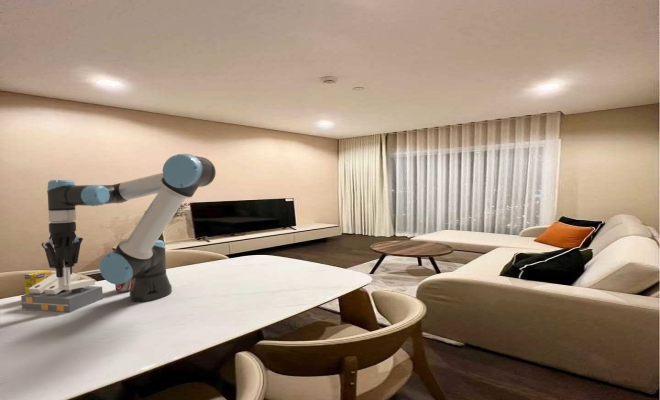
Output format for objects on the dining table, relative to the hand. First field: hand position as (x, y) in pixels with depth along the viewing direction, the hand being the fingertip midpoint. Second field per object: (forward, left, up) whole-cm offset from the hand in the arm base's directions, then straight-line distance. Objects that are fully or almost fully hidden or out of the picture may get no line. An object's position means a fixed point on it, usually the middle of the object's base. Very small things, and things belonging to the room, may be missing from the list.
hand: (64, 284), depth 112 cm
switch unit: (+7, -5, -9) cm, 12 cm away
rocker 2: (+7, -5, -1) cm, 8 cm away
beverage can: (-5, -22, -10) cm, 24 cm away
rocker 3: (0, -5, -1) cm, 5 cm away
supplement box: (+23, -8, -10) cm, 26 cm away
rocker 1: (+14, -5, -1) cm, 15 cm away
